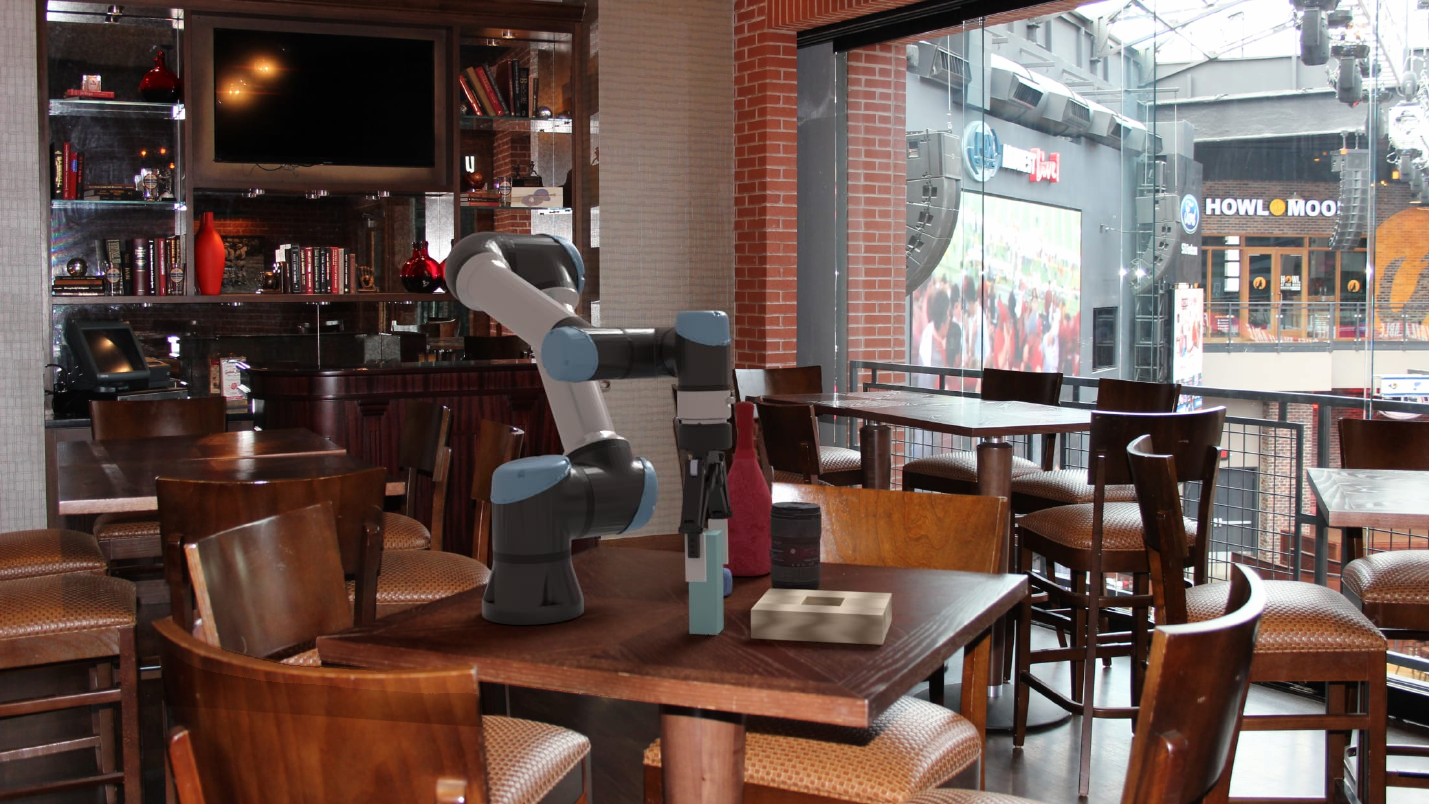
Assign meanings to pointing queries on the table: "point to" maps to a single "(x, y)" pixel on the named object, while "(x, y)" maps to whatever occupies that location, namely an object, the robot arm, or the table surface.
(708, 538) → the peg
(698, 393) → the robot arm
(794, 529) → the camera lens
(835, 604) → the socket block
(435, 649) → the table surface
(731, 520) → the wine bottle
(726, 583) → the decorative dice
